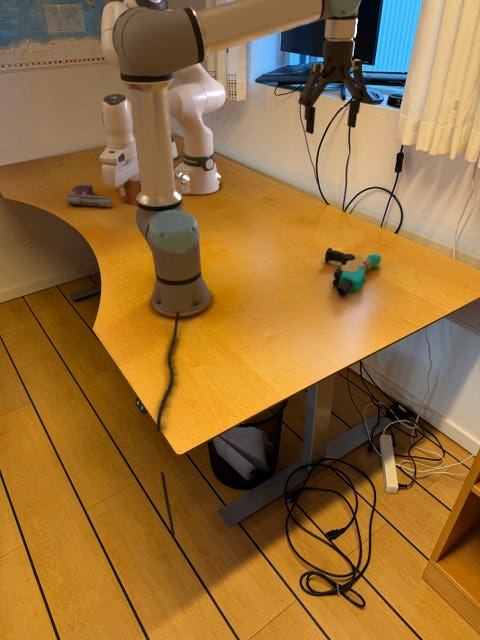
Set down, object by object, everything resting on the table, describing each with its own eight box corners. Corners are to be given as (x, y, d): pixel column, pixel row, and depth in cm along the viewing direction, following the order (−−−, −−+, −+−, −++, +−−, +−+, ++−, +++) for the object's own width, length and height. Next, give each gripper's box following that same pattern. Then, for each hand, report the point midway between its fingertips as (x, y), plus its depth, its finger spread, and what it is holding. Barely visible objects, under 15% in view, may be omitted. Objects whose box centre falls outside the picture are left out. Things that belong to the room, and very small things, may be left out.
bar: (183, 206, 159) (180, 180, 154) (176, 211, 156) (173, 185, 151) (126, 198, 166) (122, 173, 161) (118, 203, 163) (114, 177, 157)
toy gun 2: (303, 277, 126) (358, 291, 120) (334, 239, 144) (384, 250, 139) (302, 292, 128) (356, 306, 123) (333, 252, 147) (381, 263, 141)
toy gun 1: (124, 195, 187) (108, 210, 175) (80, 192, 190) (61, 206, 178) (122, 185, 185) (106, 200, 173) (78, 182, 188) (59, 197, 176)
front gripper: (370, 35, 124) (359, 121, 136) (287, 41, 115) (284, 132, 128) (389, 37, 118) (376, 126, 131) (304, 44, 110) (298, 138, 122)
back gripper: (131, 141, 162) (137, 180, 170) (96, 158, 147) (104, 201, 155) (147, 142, 160) (153, 182, 168) (113, 160, 145) (120, 203, 153)
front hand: (330, 129), depth 129 cm, fingers open, 13 cm apart
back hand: (129, 192), depth 161 cm, fingers closed on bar, 5 cm apart
